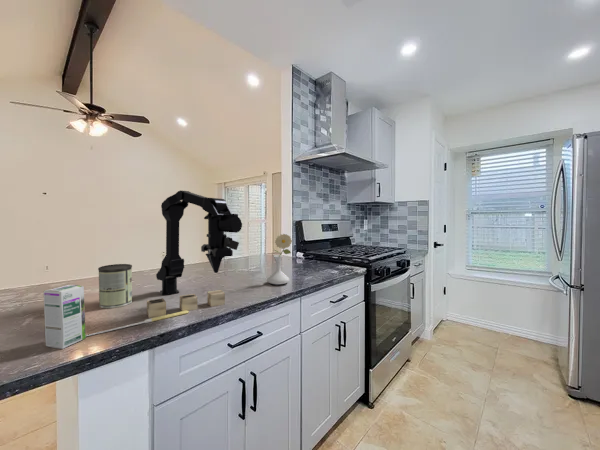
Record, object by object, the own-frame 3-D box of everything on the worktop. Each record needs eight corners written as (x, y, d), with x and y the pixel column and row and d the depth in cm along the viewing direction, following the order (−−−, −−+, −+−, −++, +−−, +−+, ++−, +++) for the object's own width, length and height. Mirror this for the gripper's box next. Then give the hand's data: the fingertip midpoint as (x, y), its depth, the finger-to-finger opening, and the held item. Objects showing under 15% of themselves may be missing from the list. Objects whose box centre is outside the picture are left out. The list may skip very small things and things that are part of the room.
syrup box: (62, 349, 65) (61, 291, 65) (44, 346, 66) (42, 289, 66) (86, 339, 71) (85, 285, 70) (68, 336, 72) (67, 283, 72)
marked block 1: (146, 313, 90) (146, 300, 89) (163, 310, 93) (163, 297, 93) (149, 318, 86) (149, 304, 86) (166, 315, 89) (166, 301, 89)
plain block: (207, 303, 101) (207, 291, 101) (220, 301, 104) (220, 289, 104) (211, 307, 97) (211, 295, 97) (224, 304, 100) (224, 292, 100)
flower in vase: (262, 284, 129) (262, 233, 129) (273, 279, 140) (273, 232, 139) (286, 287, 124) (287, 234, 124) (296, 282, 135) (296, 233, 134)
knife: (59, 337, 71) (59, 340, 68) (185, 309, 94) (189, 310, 91) (59, 342, 71) (59, 345, 68) (185, 312, 94) (190, 313, 90)
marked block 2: (179, 308, 96) (179, 295, 96) (194, 305, 99) (194, 293, 98) (182, 312, 92) (182, 298, 92) (197, 309, 94) (197, 296, 94)
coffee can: (96, 303, 99) (96, 266, 98) (128, 297, 106) (128, 262, 106) (101, 310, 92) (100, 270, 91) (135, 304, 99) (135, 266, 98)
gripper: (246, 232, 97) (246, 274, 97) (228, 229, 112) (227, 266, 112) (216, 233, 90) (215, 278, 91) (200, 230, 106) (200, 269, 106)
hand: (216, 272), depth 100 cm, fingers closed
